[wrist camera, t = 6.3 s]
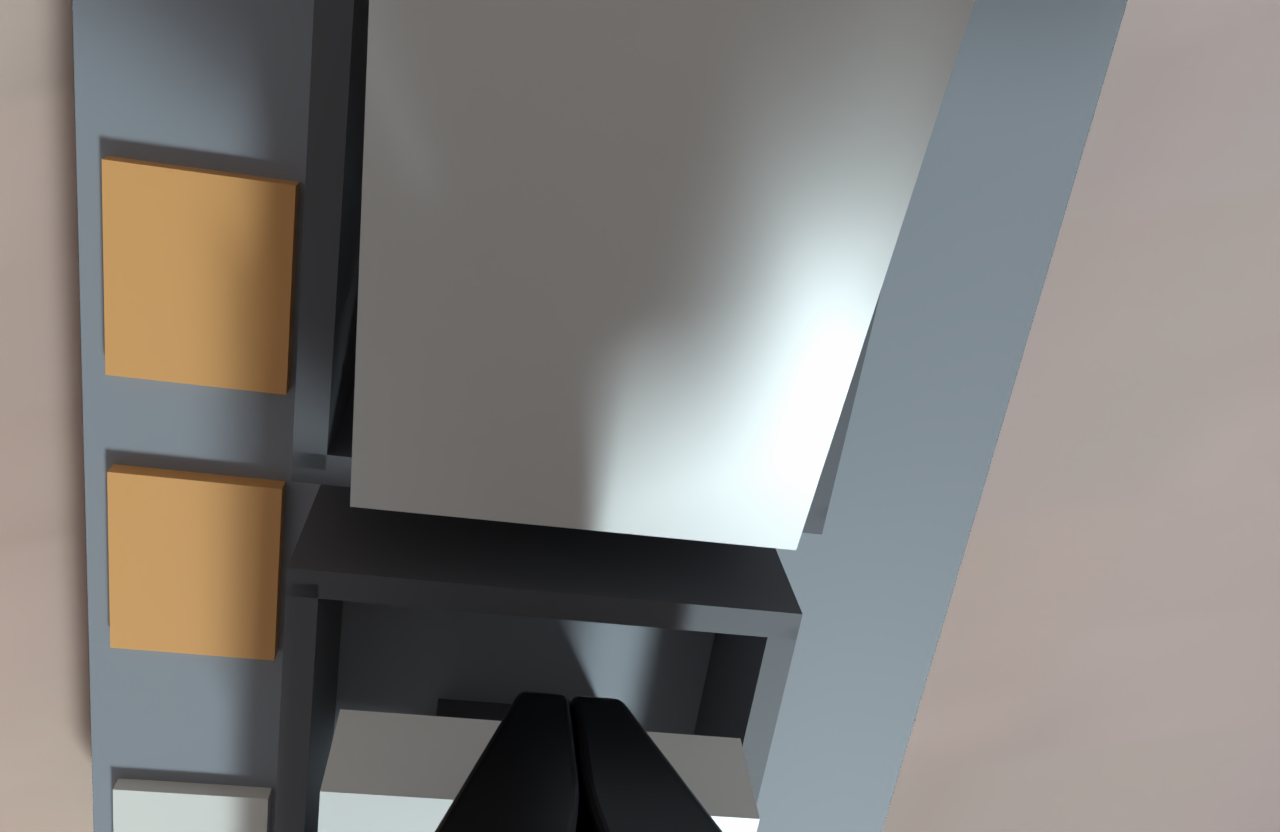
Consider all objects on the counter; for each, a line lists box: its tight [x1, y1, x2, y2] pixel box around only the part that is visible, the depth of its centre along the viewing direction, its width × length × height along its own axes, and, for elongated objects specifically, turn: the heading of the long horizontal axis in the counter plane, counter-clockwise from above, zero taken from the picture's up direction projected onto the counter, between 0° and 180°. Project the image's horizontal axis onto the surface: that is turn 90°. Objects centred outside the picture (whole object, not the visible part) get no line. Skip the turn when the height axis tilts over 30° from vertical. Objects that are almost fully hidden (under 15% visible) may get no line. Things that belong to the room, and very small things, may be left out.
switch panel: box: [72, 0, 1128, 832], centre depth 11 cm, size 10×23×4 cm, turn 171°
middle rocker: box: [350, 0, 975, 550], centre depth 8 cm, size 4×5×1 cm
